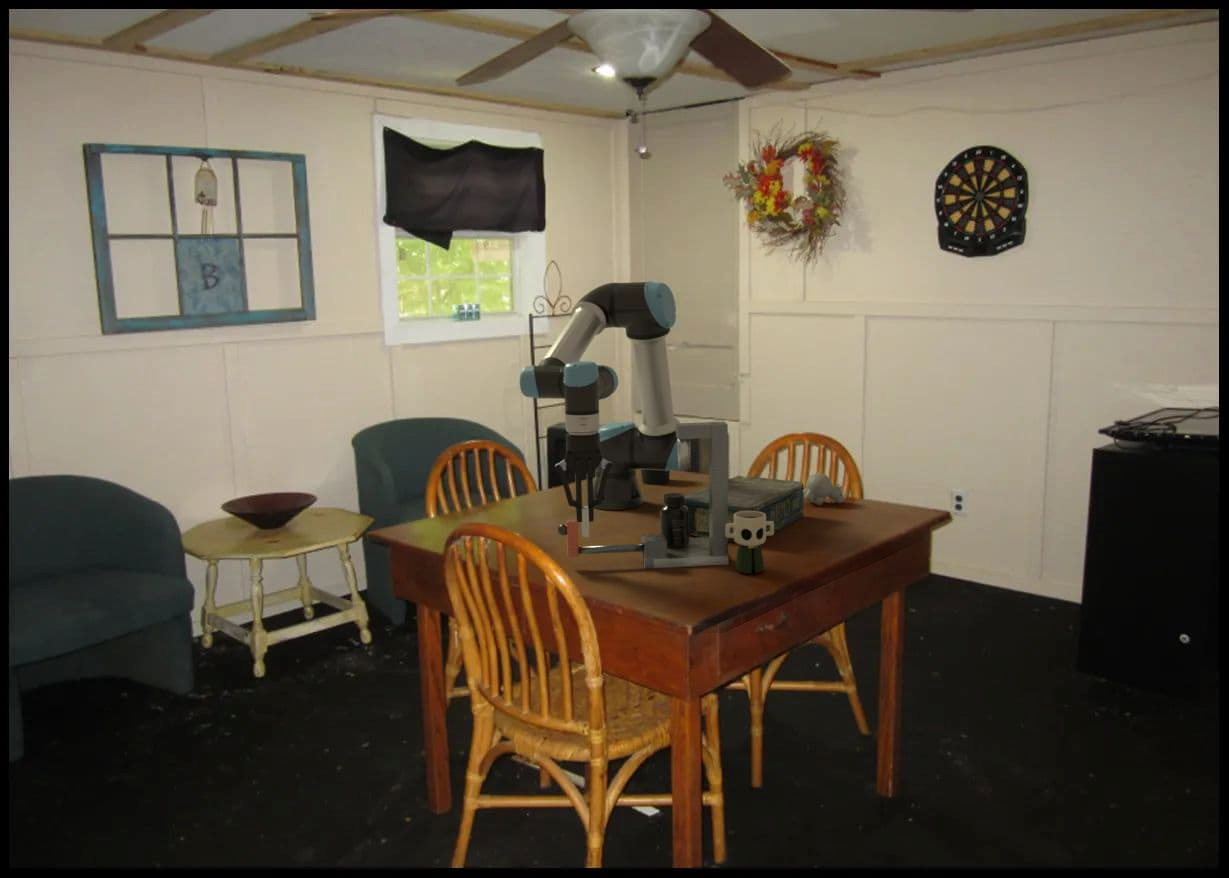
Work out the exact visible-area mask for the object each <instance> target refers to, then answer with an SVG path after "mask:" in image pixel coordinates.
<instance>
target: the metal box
mask: <svg viewBox="0 0 1229 878" xmlns="http://www.w3.org/2000/svg"><path fill="white" fill-rule="evenodd" d="M804 489H805V486H804V483H803V482H802V481H799V480H797V481H796V480H789V479H788V480H786V479H778V478H776V479H775V478H767V477H758V476H757V477H756V476H743V475H736V476H734V477H731V478H728V523H734V513H736V512H739V511H759V512H763V513H765V514H766V521H773V522H774V533H777V532H778V531H780V530H781V529H783V528H785V527H787V526H789V525H790V524H793V523H795V522H796V521H798V520H800V519H801V518H803V517H804V516H805V515H804V505H805V504H804V497H803V496H804V492H803V491H804ZM684 500H685V503H684V505H685V506H687V507H688V509H689V536H694V537H696V538H703V537H709V486H707V487H705V488H701V489H700V490H698V491H695V492H693V493H690V494H688V495H684ZM794 521H795V522H794ZM767 531H770V525H766V532H767ZM732 533H734V527H730V534H732ZM767 537H768V536H766V538H767ZM728 542H729V543H730V542H732V543H736V542H735V540H734V538H728Z"/></svg>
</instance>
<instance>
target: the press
mask: <svg viewBox="0 0 1229 878" xmlns="http://www.w3.org/2000/svg"><path fill="white" fill-rule="evenodd" d="M728 426H729V425H728V423H727V422H725V421H709V422H708V421H707V422H706V421H705V422H680V423H676V437H677V438H678V469H679V470H681V471H682V470H683V471H686V470H691V440H695V439H697V440H698V439H708V487H709V537H703V538H702V537H689V544H688V545H687V546H685V547H681V548H668V547H667V540H666V538H665V537H664V535H663V534H661V533H653V534H651V533H650V534H641V536H640V537H641V544H644V552H641V562H642V564H643V567H644V569H660V568H664V569H665V568H680V567H681V568H683V567H699V566H700V567H701V566H721V565H722V566H723V565H724V566H725V565H729V541H728V538H726V536H725V526H726V524H728V479H729V474H728V473H729V466H728V463H729V460H728V459H729V458H728V457H729V456H728V455H729V454H728V453H729V450H728V448H729V447H728V444H729V443H728V442H729V441H728V440H729V439H728V438H729V437H728V434H729V431H728V430H729V429H728V428H729V427H728Z"/></svg>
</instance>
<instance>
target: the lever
mask: <svg viewBox="0 0 1229 878" xmlns="http://www.w3.org/2000/svg"><path fill="white" fill-rule="evenodd" d="M565 520H566V523H560V525H558V526H557V533H558V535H560V536H563V537H564V536H566V552H567V558H574V557H575V558H576V557H578V558H579V556H580V555H581V556H582V555H583V556H584V555H599V554H600V555H601V554H618V553H619V554H620V553H622V554H624V553H642V552H644V544H642V543H626V544H607V545H604V544H603V545H589V546H588V545H586V546H579V524H578V523H579V522H578V521H577V518H575V519H573V518H572V519H565Z"/></svg>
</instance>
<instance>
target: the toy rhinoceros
mask: <svg viewBox="0 0 1229 878" xmlns="http://www.w3.org/2000/svg"><path fill="white" fill-rule="evenodd" d="M842 488H843V486H842V485H840V483H837V484H833V483H832V480H831V478H830V476H828V475H826V474H824V473H819V472H816V473H814V474H812V475H810V476H808V477H807V480H806V483H805V487H804V491H803V492H804V496H803V500H805V501H809V502H813V504H814V505H816V506H822V505H823V503H824V500H825V498H827V497H828V498H829V499H831V500H833V501H834V502H835V504H842V503H844V501H845V499H846V498H847V492H845V494H844V493H843V490H842Z"/></svg>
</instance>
